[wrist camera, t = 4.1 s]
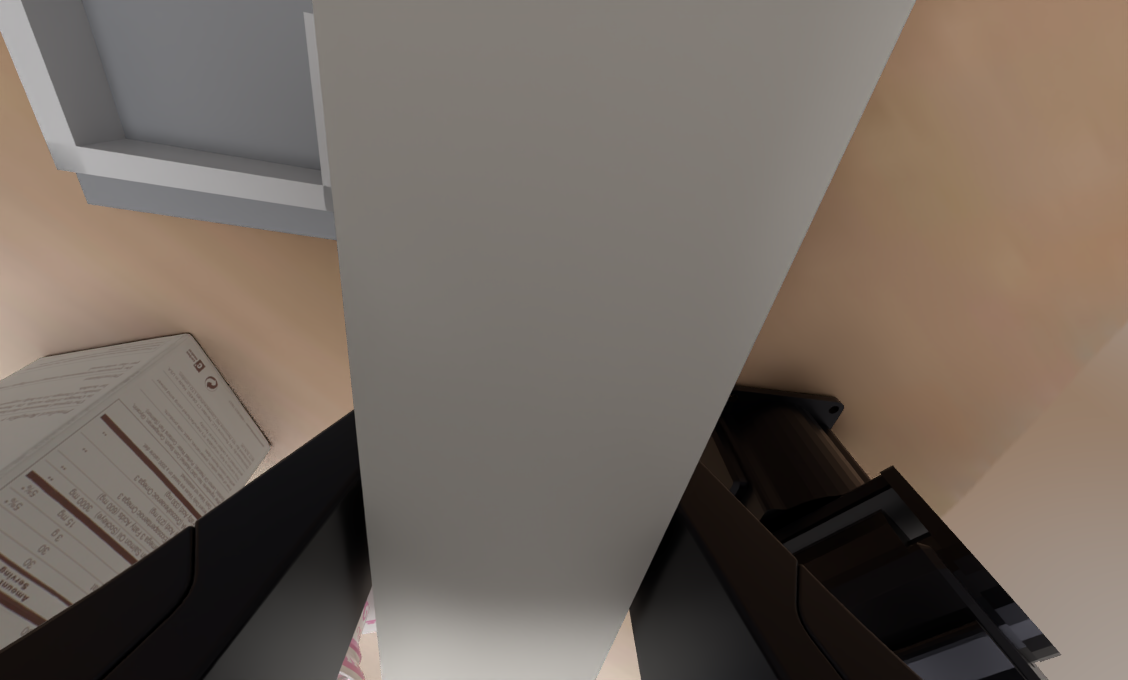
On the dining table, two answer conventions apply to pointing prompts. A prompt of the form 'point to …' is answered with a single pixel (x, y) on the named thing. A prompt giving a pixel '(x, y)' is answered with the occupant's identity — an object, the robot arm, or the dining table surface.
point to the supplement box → (109, 466)
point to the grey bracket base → (181, 106)
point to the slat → (561, 285)
